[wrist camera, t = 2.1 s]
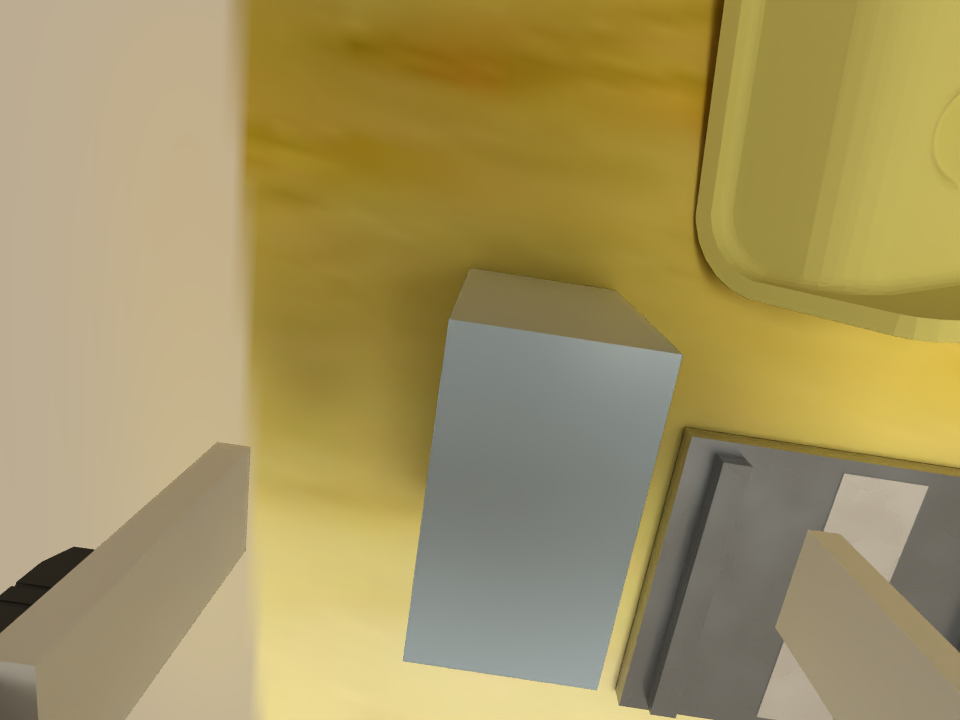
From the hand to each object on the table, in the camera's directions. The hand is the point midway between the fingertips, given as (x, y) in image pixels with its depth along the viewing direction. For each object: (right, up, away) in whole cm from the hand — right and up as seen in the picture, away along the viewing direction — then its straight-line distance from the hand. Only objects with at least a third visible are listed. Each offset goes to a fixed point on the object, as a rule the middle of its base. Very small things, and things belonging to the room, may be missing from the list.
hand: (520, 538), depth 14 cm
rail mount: (+13, -5, +9) cm, 16 cm away
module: (+1, +3, +8) cm, 8 cm away
